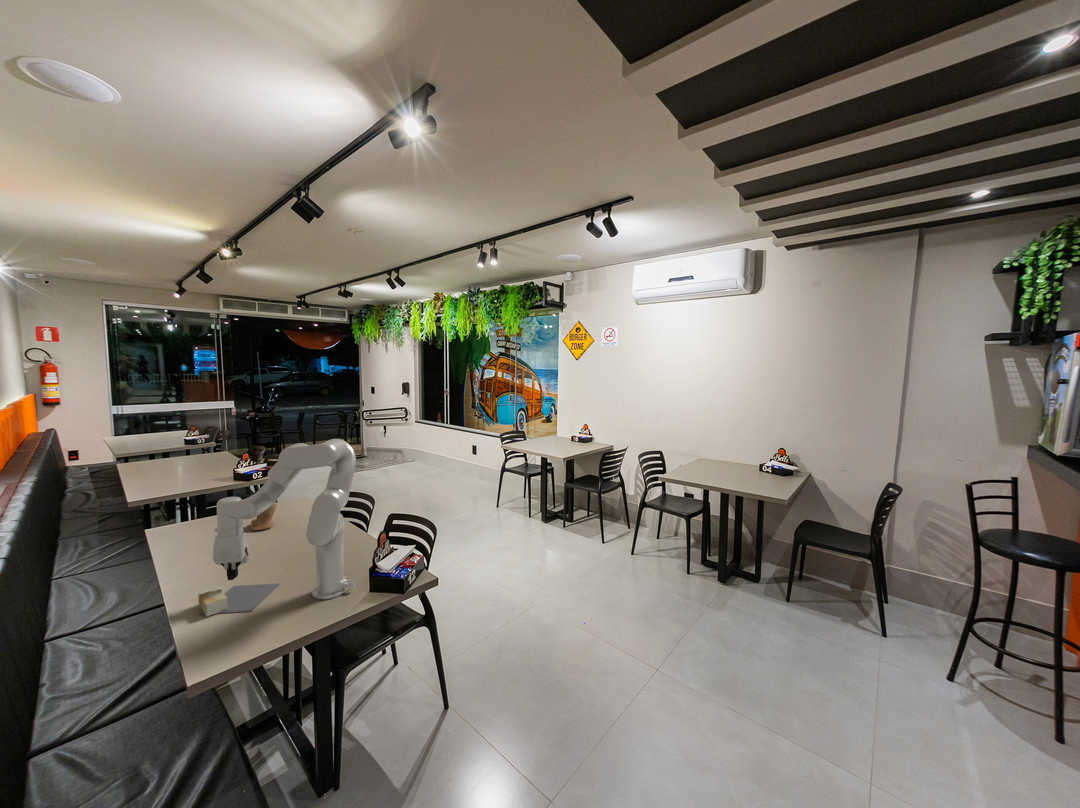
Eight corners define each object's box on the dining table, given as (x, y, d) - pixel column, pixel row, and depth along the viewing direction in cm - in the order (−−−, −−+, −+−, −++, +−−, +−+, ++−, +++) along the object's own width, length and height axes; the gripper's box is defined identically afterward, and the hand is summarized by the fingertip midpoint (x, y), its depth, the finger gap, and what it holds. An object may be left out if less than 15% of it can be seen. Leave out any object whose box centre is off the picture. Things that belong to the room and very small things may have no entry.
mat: (279, 584, 160) (279, 583, 160) (251, 611, 141) (251, 610, 141) (233, 586, 158) (233, 585, 158) (199, 614, 139) (199, 613, 139)
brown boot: (277, 528, 219) (276, 502, 218) (251, 533, 212) (250, 506, 211) (276, 520, 231) (275, 495, 230) (251, 524, 224) (250, 498, 223)
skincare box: (219, 586, 149) (228, 597, 142) (219, 597, 150) (229, 608, 142) (196, 593, 144) (205, 605, 137) (197, 604, 144) (206, 617, 137)
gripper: (201, 535, 143) (203, 584, 144) (246, 533, 145) (248, 582, 146) (215, 527, 150) (217, 574, 151) (258, 526, 152) (259, 572, 153)
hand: (232, 578), depth 149 cm, fingers closed
